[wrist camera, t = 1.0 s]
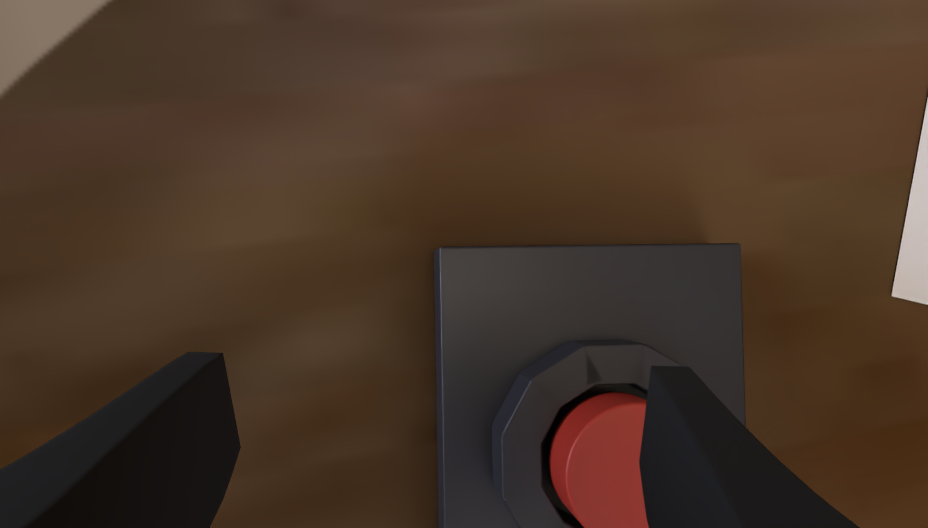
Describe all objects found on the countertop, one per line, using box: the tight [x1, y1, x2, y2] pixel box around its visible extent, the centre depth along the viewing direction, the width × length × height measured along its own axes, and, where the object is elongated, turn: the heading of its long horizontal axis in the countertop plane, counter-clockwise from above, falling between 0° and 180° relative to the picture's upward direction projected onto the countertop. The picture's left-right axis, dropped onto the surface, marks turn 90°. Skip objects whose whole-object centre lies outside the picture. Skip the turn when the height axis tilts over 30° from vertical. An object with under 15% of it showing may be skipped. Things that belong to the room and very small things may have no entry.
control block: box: [434, 243, 746, 528], centre depth 23 cm, size 13×10×4 cm
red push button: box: [549, 392, 649, 528], centre depth 21 cm, size 4×4×2 cm
